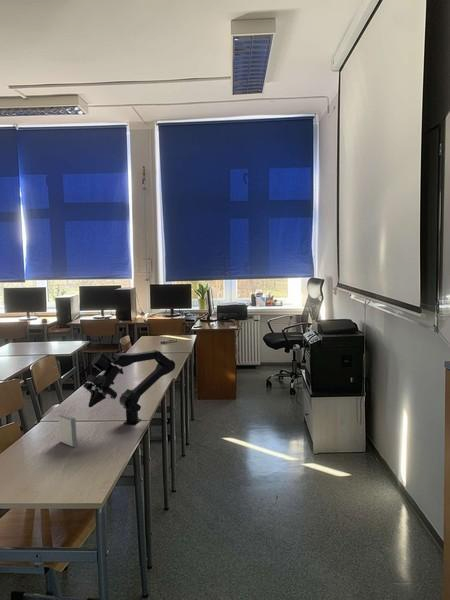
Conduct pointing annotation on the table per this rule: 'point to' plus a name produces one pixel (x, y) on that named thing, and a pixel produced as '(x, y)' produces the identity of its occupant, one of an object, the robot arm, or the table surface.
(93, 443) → the table surface
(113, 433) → the table surface
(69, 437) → the grey tile
